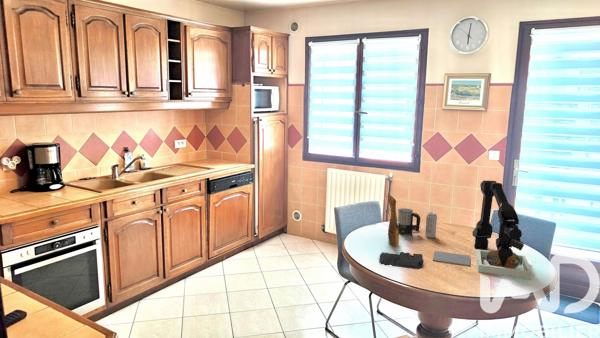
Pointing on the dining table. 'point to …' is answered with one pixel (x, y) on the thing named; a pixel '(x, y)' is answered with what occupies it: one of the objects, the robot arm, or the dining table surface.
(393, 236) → the pancake mix bag
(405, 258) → the dark slate chunk
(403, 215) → the milk frother
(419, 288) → the dining table surface
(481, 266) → the grey square frame
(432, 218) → the energy drink can
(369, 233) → the dining table surface
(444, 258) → the slate mat
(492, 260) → the tin
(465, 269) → the dining table surface
